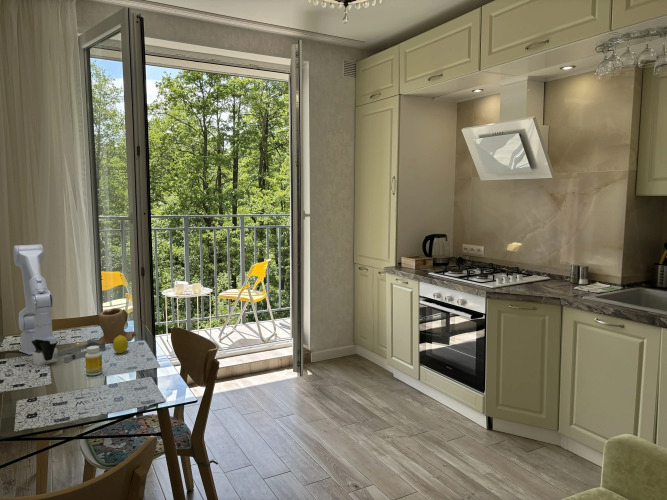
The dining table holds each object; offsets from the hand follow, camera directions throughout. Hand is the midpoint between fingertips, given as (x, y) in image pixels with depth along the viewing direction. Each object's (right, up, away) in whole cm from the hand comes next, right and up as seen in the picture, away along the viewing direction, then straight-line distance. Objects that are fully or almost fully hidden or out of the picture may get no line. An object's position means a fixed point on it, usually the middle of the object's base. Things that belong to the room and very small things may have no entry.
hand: (45, 358), depth 185 cm
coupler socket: (+8, 0, +10) cm, 12 cm away
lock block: (0, -1, 0) cm, 2 cm away
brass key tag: (+4, +1, +20) cm, 21 cm away
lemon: (+25, -1, +10) cm, 27 cm away
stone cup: (+16, +1, +27) cm, 31 cm away
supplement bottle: (+25, -3, -12) cm, 27 cm away
